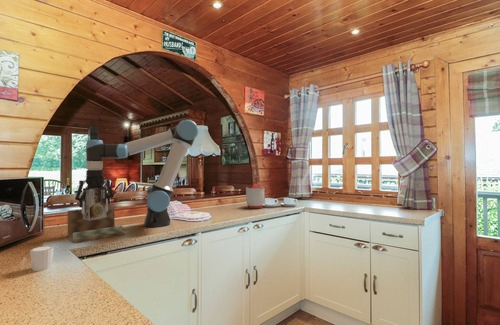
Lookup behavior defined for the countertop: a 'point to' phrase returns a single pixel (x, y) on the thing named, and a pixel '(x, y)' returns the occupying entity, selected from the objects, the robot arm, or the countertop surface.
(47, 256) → the white cylinder
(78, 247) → the countertop surface
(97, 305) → the countertop surface
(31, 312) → the countertop surface
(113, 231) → the wall rack
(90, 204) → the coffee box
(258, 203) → the citrus juicer
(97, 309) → the countertop surface
